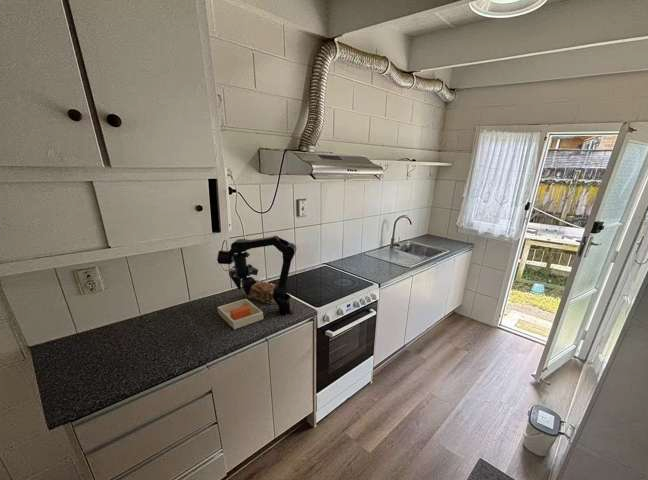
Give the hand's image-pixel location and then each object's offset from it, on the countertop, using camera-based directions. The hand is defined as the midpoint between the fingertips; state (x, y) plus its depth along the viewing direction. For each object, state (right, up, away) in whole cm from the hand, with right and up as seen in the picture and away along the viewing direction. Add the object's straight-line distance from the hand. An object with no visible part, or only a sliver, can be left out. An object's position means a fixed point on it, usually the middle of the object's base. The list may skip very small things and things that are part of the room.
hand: (243, 292), depth 157 cm
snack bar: (-1, -13, -1) cm, 13 cm away
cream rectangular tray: (-1, -13, -1) cm, 13 cm away
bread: (+5, -5, +20) cm, 21 cm away
